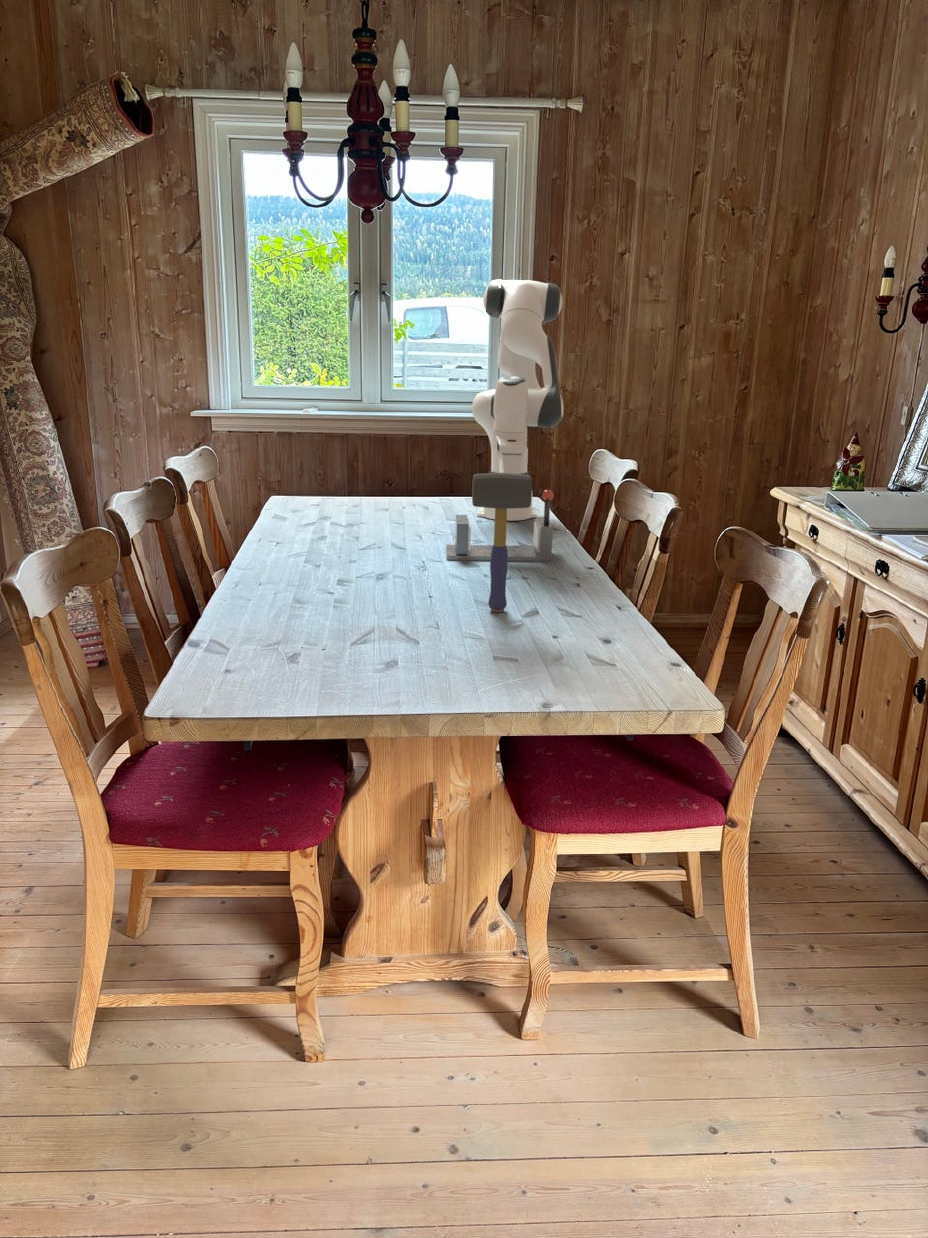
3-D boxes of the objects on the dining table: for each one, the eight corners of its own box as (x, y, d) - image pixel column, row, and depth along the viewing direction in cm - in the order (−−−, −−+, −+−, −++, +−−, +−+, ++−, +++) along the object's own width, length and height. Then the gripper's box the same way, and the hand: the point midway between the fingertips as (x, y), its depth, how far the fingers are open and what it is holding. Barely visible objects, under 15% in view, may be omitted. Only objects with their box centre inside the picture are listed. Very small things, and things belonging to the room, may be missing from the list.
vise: (446, 548, 264) (447, 481, 259) (545, 550, 265) (549, 482, 260) (446, 560, 253) (448, 489, 247) (551, 561, 254) (554, 491, 248)
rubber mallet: (468, 615, 209) (472, 475, 200) (468, 605, 216) (472, 469, 207) (527, 616, 209) (533, 476, 200) (524, 606, 216) (530, 470, 207)
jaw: (455, 544, 263) (455, 514, 261) (468, 544, 264) (469, 514, 261) (456, 554, 253) (457, 523, 251) (470, 554, 253) (471, 523, 251)
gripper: (494, 436, 260) (492, 488, 264) (500, 447, 240) (498, 503, 245) (518, 437, 260) (516, 488, 264) (525, 447, 241) (523, 503, 245)
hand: (507, 495), depth 254 cm, fingers closed on block, 5 cm apart
